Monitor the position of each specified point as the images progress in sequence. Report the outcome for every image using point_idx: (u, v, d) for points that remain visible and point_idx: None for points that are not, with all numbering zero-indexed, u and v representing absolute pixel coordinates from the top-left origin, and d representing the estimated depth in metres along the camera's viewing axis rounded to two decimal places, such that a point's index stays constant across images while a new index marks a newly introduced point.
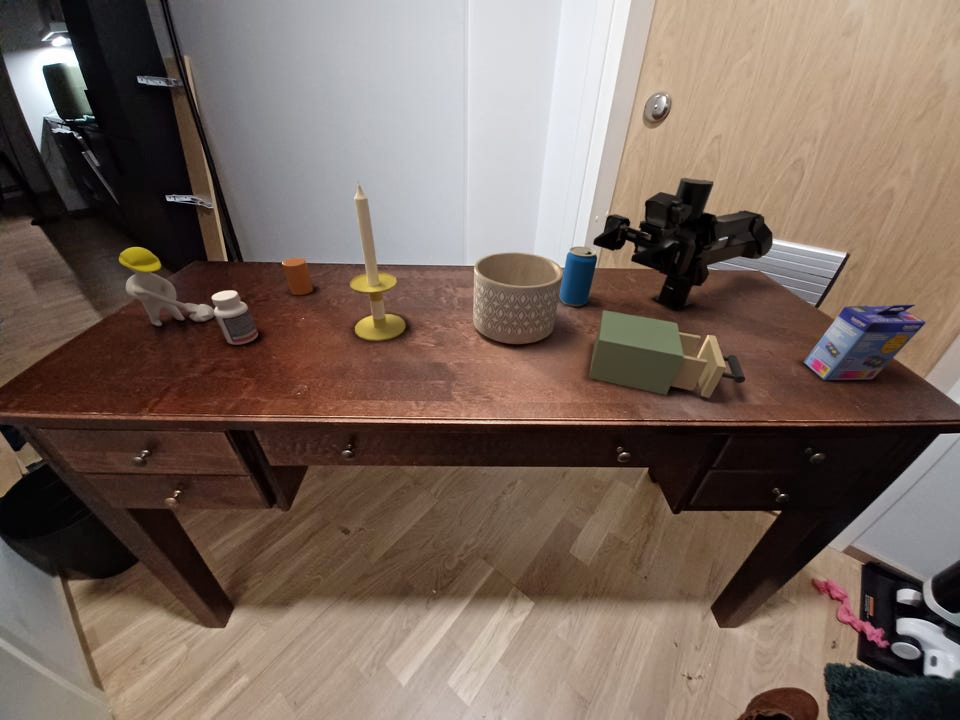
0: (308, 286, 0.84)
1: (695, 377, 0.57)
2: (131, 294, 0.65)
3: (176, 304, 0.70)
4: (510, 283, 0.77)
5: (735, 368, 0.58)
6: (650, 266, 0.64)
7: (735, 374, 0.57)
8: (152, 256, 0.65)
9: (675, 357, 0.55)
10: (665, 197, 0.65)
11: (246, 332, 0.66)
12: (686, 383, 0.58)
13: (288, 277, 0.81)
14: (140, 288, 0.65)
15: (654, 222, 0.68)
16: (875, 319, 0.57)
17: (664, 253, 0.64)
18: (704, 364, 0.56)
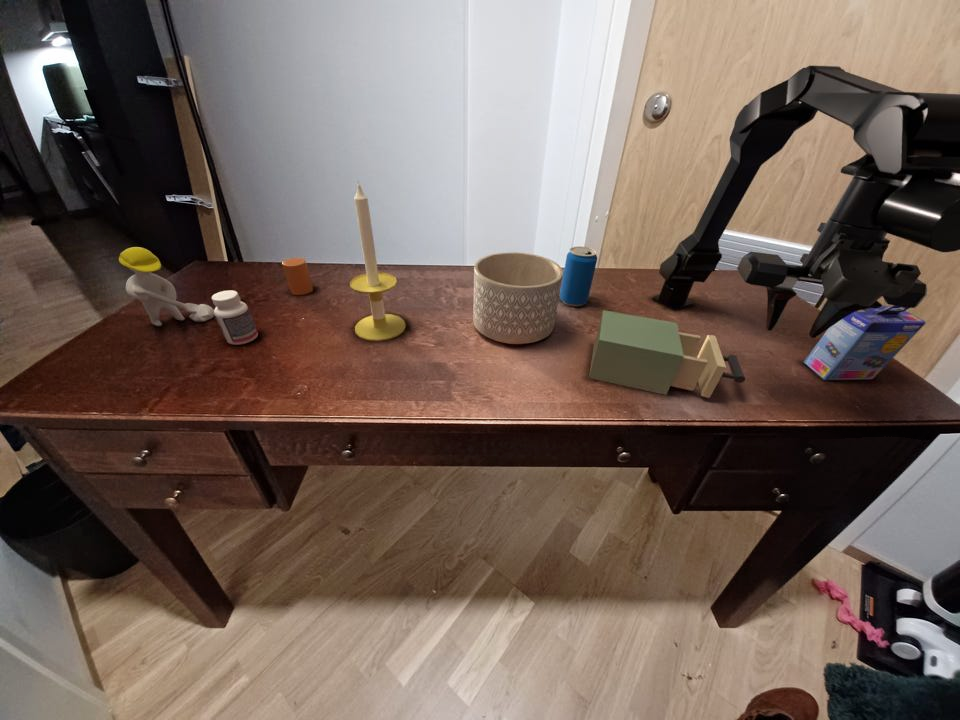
0: (308, 286, 0.84)
1: (695, 377, 0.57)
2: (131, 294, 0.65)
3: (176, 304, 0.70)
4: (510, 283, 0.76)
5: (735, 368, 0.58)
6: None
7: (735, 374, 0.57)
8: (152, 256, 0.65)
9: (675, 357, 0.55)
10: (866, 294, 0.41)
11: (246, 332, 0.66)
12: (686, 383, 0.58)
13: (288, 277, 0.81)
14: (140, 288, 0.65)
15: None
16: (876, 319, 0.57)
17: None
18: (704, 364, 0.56)
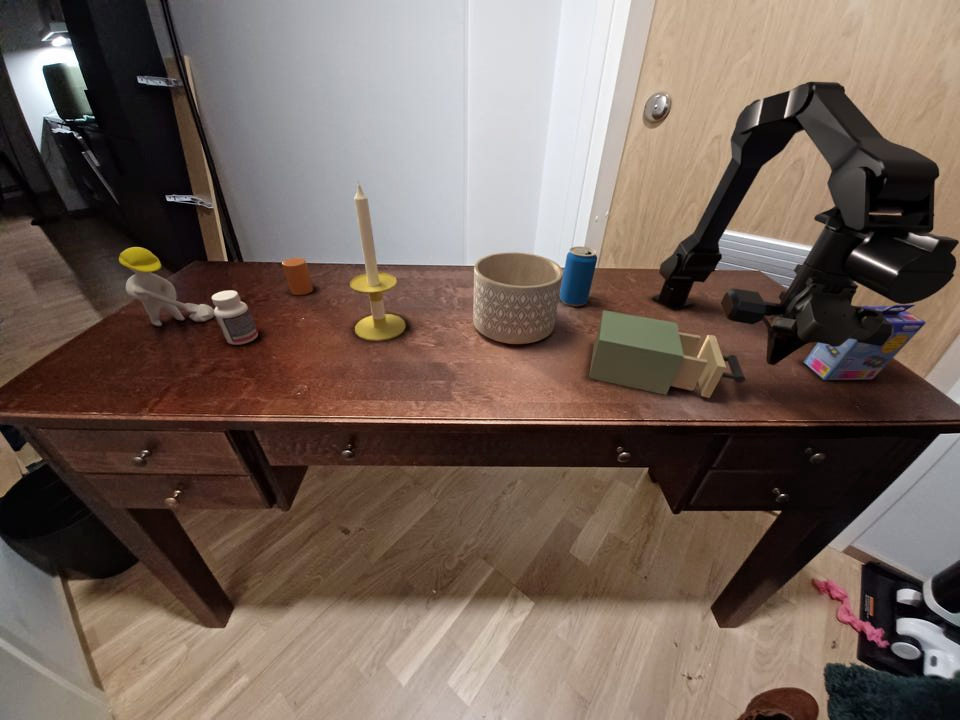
0: (308, 286, 0.84)
1: (695, 377, 0.57)
2: (131, 294, 0.65)
3: (176, 304, 0.70)
4: (510, 283, 0.76)
5: (735, 368, 0.58)
6: None
7: (735, 374, 0.57)
8: (152, 256, 0.65)
9: (675, 357, 0.55)
10: (835, 336, 0.44)
11: (246, 332, 0.66)
12: (686, 383, 0.58)
13: (288, 277, 0.81)
14: (140, 288, 0.65)
15: None
16: None
17: None
18: (704, 364, 0.56)
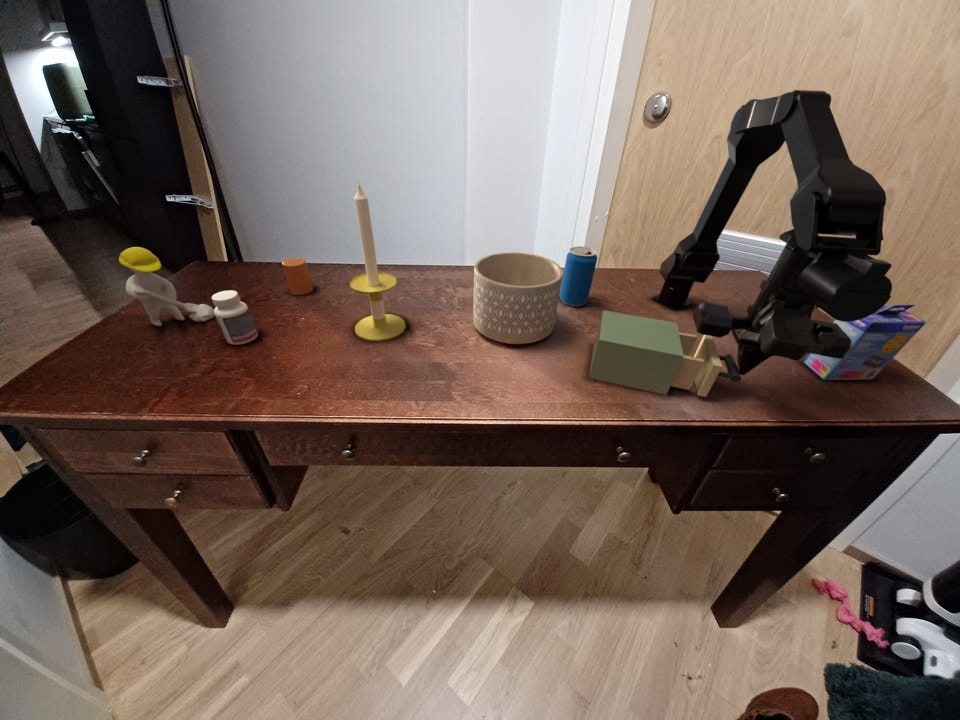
0: (308, 286, 0.84)
1: (691, 376, 0.57)
2: (131, 294, 0.65)
3: (176, 304, 0.70)
4: (510, 283, 0.76)
5: (731, 367, 0.58)
6: None
7: (731, 374, 0.57)
8: (152, 256, 0.65)
9: (675, 357, 0.55)
10: (794, 350, 0.47)
11: (246, 332, 0.66)
12: (682, 382, 0.59)
13: (288, 277, 0.81)
14: (140, 288, 0.65)
15: None
16: (875, 319, 0.57)
17: None
18: (700, 363, 0.56)
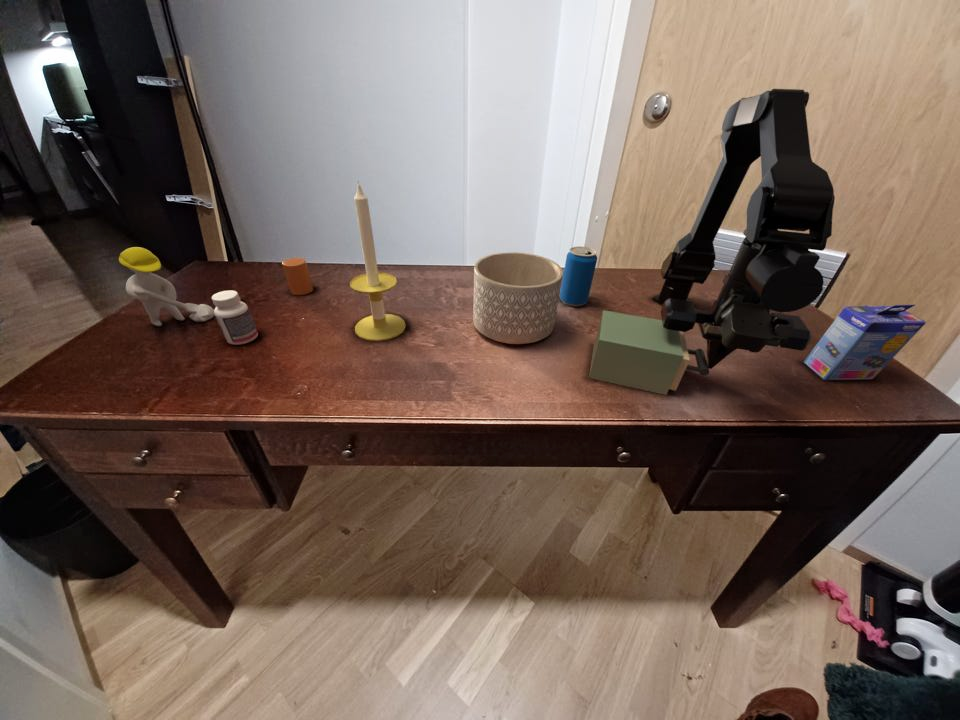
0: (308, 286, 0.84)
1: None
2: (131, 294, 0.65)
3: (176, 304, 0.70)
4: (510, 283, 0.76)
5: (700, 361, 0.59)
6: None
7: (700, 367, 0.58)
8: (152, 256, 0.65)
9: (675, 357, 0.55)
10: (752, 343, 0.48)
11: (246, 332, 0.66)
12: None
13: (288, 277, 0.81)
14: (140, 288, 0.65)
15: None
16: (876, 319, 0.57)
17: None
18: None
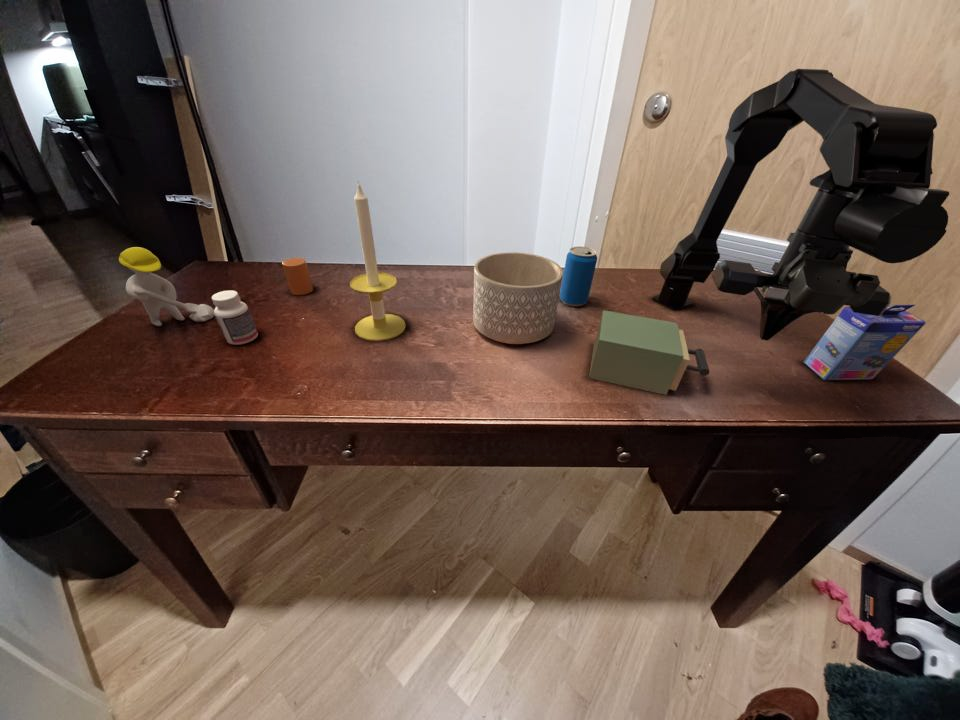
0: (308, 286, 0.84)
1: None
2: (131, 294, 0.65)
3: (176, 304, 0.70)
4: (510, 283, 0.76)
5: (700, 361, 0.59)
6: None
7: (700, 367, 0.58)
8: (152, 256, 0.65)
9: (675, 357, 0.55)
10: (829, 302, 0.42)
11: (246, 332, 0.66)
12: None
13: (288, 277, 0.81)
14: (140, 288, 0.65)
15: None
16: (875, 319, 0.57)
17: None
18: None
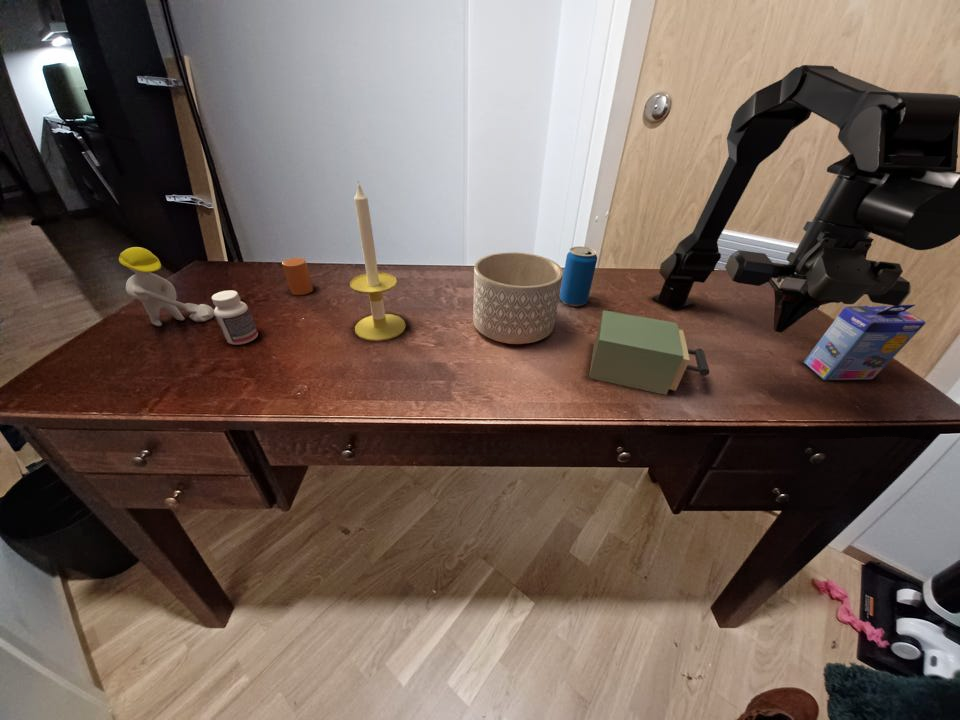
0: (308, 286, 0.84)
1: None
2: (131, 294, 0.65)
3: (176, 304, 0.70)
4: (510, 283, 0.77)
5: (700, 361, 0.59)
6: None
7: (700, 367, 0.58)
8: (152, 256, 0.65)
9: (675, 357, 0.55)
10: (849, 292, 0.41)
11: (246, 332, 0.66)
12: None
13: (288, 277, 0.81)
14: (140, 288, 0.65)
15: None
16: (875, 319, 0.57)
17: None
18: None
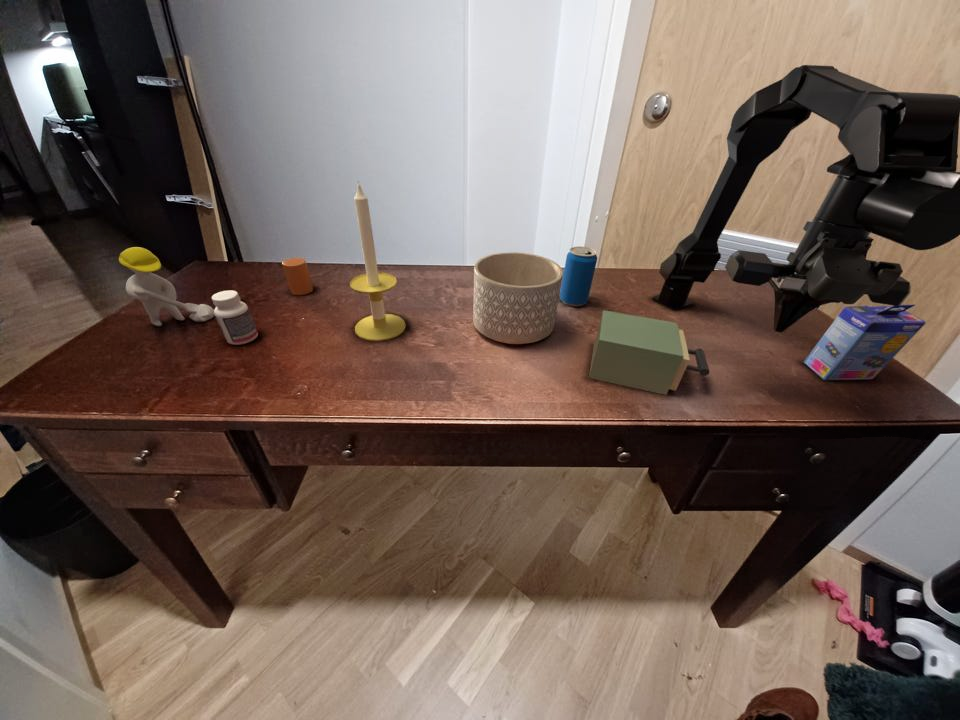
0: (308, 286, 0.84)
1: None
2: (131, 294, 0.65)
3: (176, 304, 0.70)
4: (510, 283, 0.76)
5: (700, 361, 0.59)
6: None
7: (700, 367, 0.58)
8: (152, 256, 0.65)
9: (675, 357, 0.55)
10: (849, 292, 0.41)
11: (246, 332, 0.66)
12: None
13: (288, 277, 0.81)
14: (140, 288, 0.65)
15: None
16: (875, 319, 0.57)
17: None
18: None
